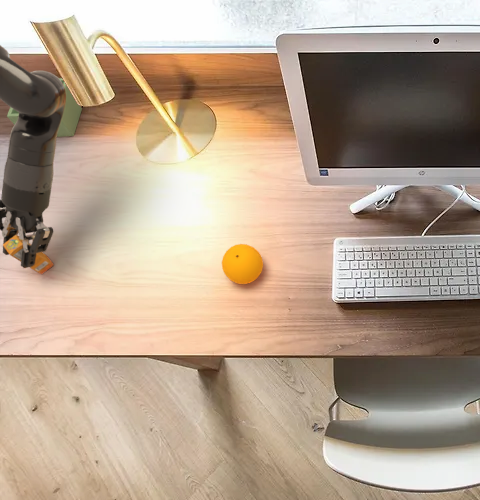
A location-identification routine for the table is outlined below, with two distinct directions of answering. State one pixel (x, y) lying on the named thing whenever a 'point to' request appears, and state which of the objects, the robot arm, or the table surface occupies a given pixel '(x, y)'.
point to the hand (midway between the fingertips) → (18, 259)
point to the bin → (68, 119)
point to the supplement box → (16, 249)
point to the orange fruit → (242, 263)
